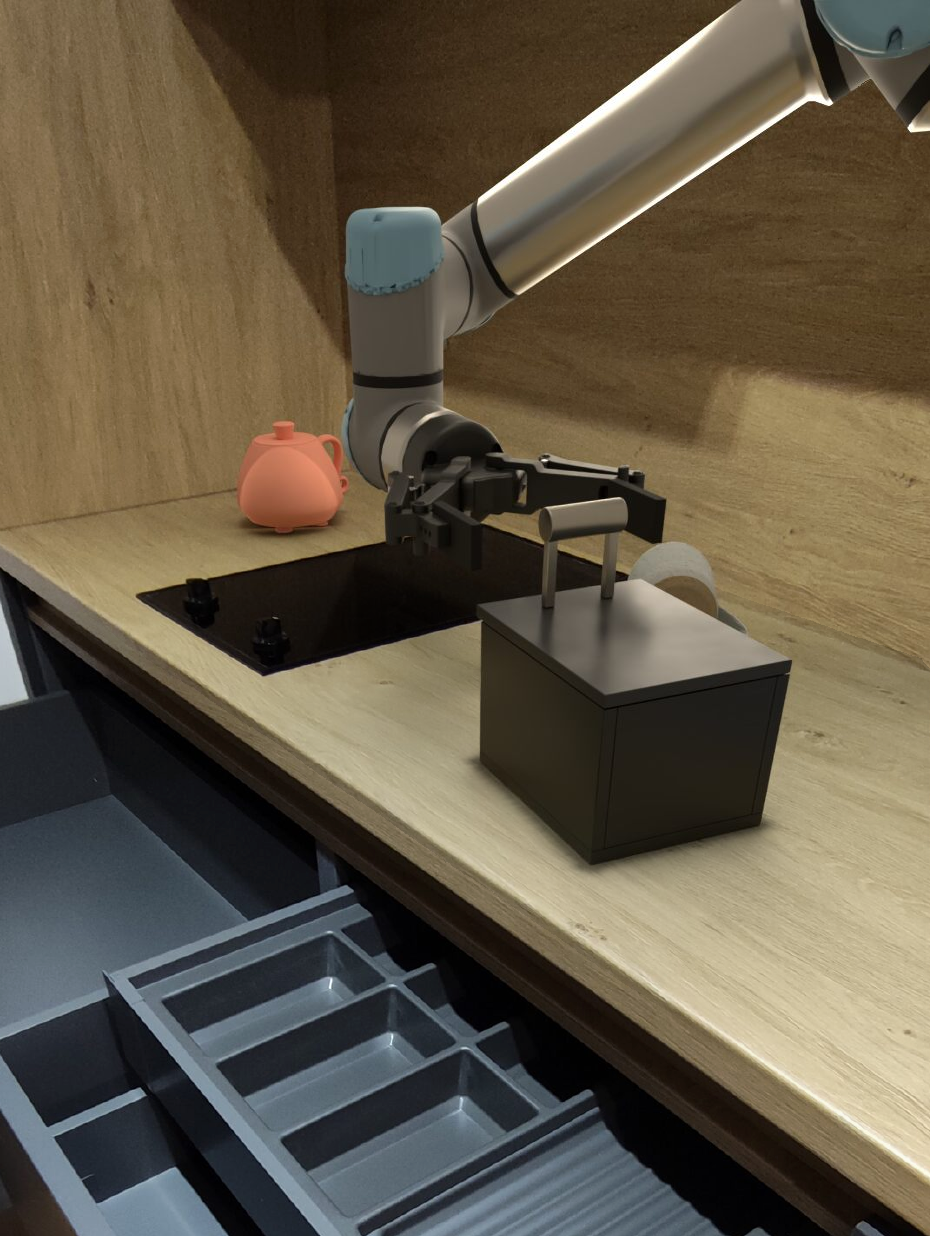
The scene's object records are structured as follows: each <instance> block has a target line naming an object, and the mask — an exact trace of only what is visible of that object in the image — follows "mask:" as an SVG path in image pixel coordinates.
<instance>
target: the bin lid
mask: <svg viewBox="0 0 930 1236" xmlns="http://www.w3.org/2000/svg"><path fill="white" fill-rule="evenodd" d="M627 520H628V511H627V506H626V503H625V501H624V500H623V499H622V498H620V497H619V498H611V499H604V500H596V501H589V502H581V503H574V504H567V505H559V506H552V507H545V508H543V509H540V510H539V514H538V521H537V523H538V524H537V525H538V526H537V527H538V534H539V536H540V538H541V540H542V542H543V561H542V584H541V594H536V595H535V594H534V595H530V596H523V597H517V598H511V599H504V600H499V601H498V600H497V601H492V602H485V603H478V604H476V617H477V618H478V619H480V620H481V621H484V622H485V623H486V624H488V625H489V626H491V627H492V628H493V629H495V630H496V631H498V632H499V633H500V634H502V635H503V636H504V637H506V638H507V639H509V640H510V641H511V642H513V643H514V644H516V645H517V646H518V647H520V648H521V649H522V650H524V651H525V652H527V653H528V654H529V655H531V656H532V657H533V658H535V659H536V660H538V661H539V662H540V663H542V664H543V665H545V666H546V667H547V668H549V669H550V670H551V671H553V672H554V673H556V674H557V675H558V676H560V677H561V678H563V679H564V680H565V681H567V682H568V683H569V684H571V685H572V686H574V687H575V688H576V689H578V690H579V691H581V692H582V693H583V694H585V695H586V696H587V697H589V698H590V699H592V700H593V701H594V702H596V703H597V704H599V705H600V706H601V707H603V708H611V707H616V706H621V705H626V704H631V703H636V702H642V701H647V700H652V699H657V698H662V697H667V696H672V695H678V694H683V693H688V692H693V691H698V690H703V689H708V688H714V687H719V686H724V685H729V684H734V683H739V682H744V681H750V680H755V679H760V678H765V677H770V676H775V675H781V674H786V673H789V674H790V673H791V672H792V671H791V670H792V665H793V659H791V658H790V657H788V656H786V655H784V654H782V653H780V652H778V651H776V650H775V649H773V648H771V647H769V646H767V645H765V644H763V643H762V642H760V641H757V640H756V639H754V638H752V637H750V636H749V637H748V636H747V635H745V634H743V633H741V632H739V631H737V630H735V629H733V628H732V627H730V626H728V625H726V624H724V623H722V622H720V621H719V620H717V619H715V618H713V617H711V616H709V615H707V614H705V613H704V612H702V611H700V610H698V609H696V608H694V607H692V606H690V605H689V604H687V603H685V602H683V601H681V600H679V599H677V598H675V597H674V596H672V595H670V594H668V593H666V592H664V591H662V590H661V589H659V588H657V587H655V586H653V585H651V584H649V583H647V582H646V581H644V580H642V579H636V580H629V581H627V580H624V581H623V580H622V581H617V582H616V572H617V562H618V549H619V539H620V533H621V532H623V531H624V529H625V527H626V524H627ZM603 535H604V541H603V542H604V543H603V554H602V555H603V556H602V567H601V579H600V580H601V581H600V584H599V585H592V586H586V587H579V588H573V589H567V590H561V591H556V587H557V586H556V585H557V566H558V546H559V542H561V541H568V540H575V539H580V538H581V539H582V538H589V537H595V536H603Z"/></svg>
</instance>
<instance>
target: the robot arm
mask: <svg viewBox="0 0 930 1236" xmlns="http://www.w3.org/2000/svg"><path fill="white" fill-rule="evenodd" d="M808 32H809V34H808ZM833 40H834V41H833ZM810 41H811V42H810ZM811 43H812V45H811ZM818 66H819V67H818ZM819 69H820V71H819ZM820 72H821V74H820ZM869 79H871V80H872V81H873V83H874V84H875V86H876V87H877V88H878V90H879V91H880V93H881V94H882V95H883V97H884V98H885V99H886V101H887V102H888V103H889V105H890V106H891V108H892V109H893V110H894V112H895V113H896V115H897V116H898V117H899V119H900V120H901V121H902V122H903V124H904V125H905V127H906V128H907V130H908V131H909V132H910V133H917V132H928V131H929V132H930V0H740V1H738V2H737V3H736V4H735V5H733V6H732V7H731V8H729V9H728V10H727V11H725V12H724V13H723V14H721V15H720V16H719V17H718V18H716V19H715V20H713V21H712V22H711V23H709V24H708V25H707V26H705V27H704V28H703V29H702V30H700V31H698V33H696V34H694V36H692V37H691V38H689V39H688V40H687V41H685V42H684V43H683V44H681V45H680V46H678V48H676V49H675V50H674V51H672V52H671V53H670V54H668V55H667V56H666V57H664V58H663V59H661V60H660V61H659V62H657V63H656V64H655V65H654V66H652V67H651V68H650V69H648V70H647V71H646V72H644V73H643V74H641V75H640V76H639V77H637V78H636V79H635V80H634V81H632V82H631V83H630V84H629V85H627V86H626V87H624V88H623V89H622V90H621V91H620V90H619V92H617V94H615V95H614V96H612V97H611V98H610V99H608V100H607V101H606V102H604V103H603V104H601V106H599V107H598V108H596V109H595V110H594V111H592V112H591V113H590V114H588V115H587V116H586V117H585V118H583V119H582V120H581V121H578V123H576V124H575V125H574V126H573V127H571V128H570V129H568V130H567V131H566V132H565V133H563V134H562V135H560V136H559V137H558V138H556V139H555V140H554V141H552V142H551V143H550V144H549V145H547V146H546V147H545V148H543V149H541V150H540V151H539V152H537V154H535V155H534V156H533V157H531V158H530V159H529V160H527V161H526V162H525V163H524V164H522V165H521V166H519V167H518V168H516V170H514V171H513V172H511V173H510V174H508V175H507V176H506V177H505V178H503V179H502V180H501V181H499V182H498V183H497V184H495V185H494V186H493V187H492V188H490V189H489V190H487V191H486V192H485V193H483V194H482V195H481V196H480V197H478V199H476V200H475V201H474V202H472V203H470V204H469V205H467V206H466V207H464V208H463V209H462V210H460V211H459V212H458V213H456V214H455V215H453V216H452V218H450V219H448V220H447V221H446V222H445V223H443V224H442V221H441V219H440V216H439V214H438V213H437V212H436V211H435V210H434V209H433V208H430V207H424V206H384V207H383V206H382V207H375V208H373V207H372V208H362V209H358V210H355V211H354V212H353V213H351V214H350V216H349V217H348V219H347V221H346V226H345V264H344V278H345V280H346V287H347V305H348V318H349V335H350V349H351V350H350V351H351V364H352V396H353V397H352V398H351V399H350V401H349V403H348V404H347V407H346V409H345V411H344V413H343V417H342V422H341V429H340V430H341V431H340V435H341V436H340V437H341V442H342V443H341V445H342V448H343V453H344V454H345V457H346V459H347V461H348V462H349V464H350V465H351V467H352V468H353V469H354V470H355V471H356V472H357V473H358V474H359V475H360V476H361V477H362V479H363V480H364V481H365V482H366V483H367V484H369V485H370V486H371V487H373V488H376V489H377V490H378V491H381V490H382V491H383V492H385V493H386V494H387V495H386V499H385V500H384V502H383V503H384V504H383V508H384V510H383V511H384V512H383V513H384V533H385V536H384V537H385V544H387V545H388V546H391V547H396V546H398V545H401V544H403V543H404V539H405V538H407V537H408V538H409V537H411V538H412V551H413V552H412V553H413V555H414V556H418V557H425V556H430V555H431V548H433V549H437V550H439V551H440V552H442V553H443V554H445V555H446V556H448V557H450V559H452V560H454V561H455V562H457V563H458V564H460V565H461V566H463V567H464V568H466V569H467V570H469V571H470V572H474V571H482V570H483V523H482V522H484V521H485V520H486V519H487V518H488V517H489V516H490V515H493V516H501V515H502V514H505V513H506V514H507V513H509V514H516V515H524V516H525V515H527V516H532V515H533V514H534V513H536V512H538V511H540V510H542V509H543V508H545V507H552V506H559V505H567V504H574V503H581V502H589V501H596V500H604V499H611V498H619V497H620V498H622V499H623V500H624V501H625V503H626V506H627V511H628V520H627V524H626V527H625V529H624V530H623V531H624V532H627V533H629V534H631V535H633V536H635V537H636V538H639V539H641V540H642V541H645V542H648V543H649V544H651V545H658V544H662V543H663V536H664V528H665V526H664V525H665V517H666V509H667V502H668V501H667V498H665V497H664V496H661V495H659V494H656V493H655V492H651V491H649V490H647V489H645V483H646V482H645V481H646V472H644V471H641V470H639V469H635V470H634V469H630V465H629V464H626V463H623V464H622V465H620V466H619V467H615V466H609V465H603V464H602V465H601V464H597V463H590V462H585V461H578V460H571V459H565V458H562V457H560V456H556V455H553V454H550V453H543V454H540V455H538V458H537V459H528V458H517V457H511V455H509V453H506V452H505V451H504V450H503V447H502V445H501V444H500V441H499V440H498V438H497V437H496V435H495V434H494V433H493V432H492V431H491V430H490V429H489V428H488V427H487V426H485V425H484V424H481V423H480V422H477V421H475V420H473V419H471V418H469V417H466V416H463V415H461V414H460V413H458V412H456V411H454V410H451V409H448V408H446V407H444V341H446V340H449V339H451V338H453V337H454V336H457V335H465V334H468V333H470V332H472V331H475V330H476V329H478V328H479V327H481V326H483V325H484V324H486V323H487V322H488V321H489V320H490V319H492V317H493V316H494V315H495V313H496V312H498V311H499V310H500V309H501V308H504V307H505V306H506V305H508V304H509V303H511V302H512V301H513V300H515V299H516V298H517V297H518V296H520V295H521V294H523V293H525V292H526V291H527V290H529V289H531V288H532V287H533V286H535V285H536V284H538V283H539V282H541V281H542V280H543V279H545V278H547V277H548V276H550V275H551V274H553V273H554V272H555V271H557V270H559V269H560V268H561V267H563V266H564V265H566V264H568V263H569V262H571V261H572V260H573V259H575V258H576V257H578V256H579V255H581V254H583V253H584V252H585V251H587V250H589V249H590V248H591V247H593V246H595V245H596V244H597V243H599V242H601V240H603V239H605V238H607V236H610V235H611V234H612V233H614V232H615V231H616V230H618V229H619V228H621V227H622V226H624V225H626V224H627V223H628V222H630V221H632V220H633V219H634V218H636V217H638V216H639V215H640V214H642V213H643V212H645V211H647V210H648V209H649V208H651V207H652V206H654V205H655V204H657V203H658V202H660V201H661V200H663V199H665V197H667V196H669V195H671V193H673V192H675V191H676V190H678V189H679V188H680V187H682V186H684V185H685V184H686V183H689V182H690V181H691V180H692V179H694V178H696V177H697V176H698V175H700V174H702V173H703V172H704V171H706V170H708V169H709V168H710V167H712V166H714V165H715V164H716V163H718V162H720V161H721V160H722V159H724V158H725V157H726V156H728V155H729V154H731V153H733V152H734V151H736V150H737V149H739V148H740V147H743V145H745V144H747V142H749V141H750V140H752V139H754V138H755V137H757V136H759V134H761V133H762V132H764V131H765V130H767V129H768V128H770V127H771V126H773V125H774V124H776V123H777V122H779V121H780V120H782V119H783V118H785V117H786V116H788V115H789V114H791V113H792V112H793V111H795V110H796V109H798V108H800V107H801V106H802V105H804V104H806V103H807V102H817V103H820V104H823V105H825V106H828V107H829V106H831V105H833V104H835V103H836V102H837V101H839V100H840V99H842V98H843V97H845V96H847V94H850V93H851V92H853V91H854V90H856V89H857V88H859V87H861V86H862V85H863V84H862V83H864V82H865V81H867V80H869ZM869 81H870V80H869ZM867 82H868V81H867ZM865 83H866V82H865ZM865 83H864V84H865ZM861 84H862V85H861ZM858 86H859V87H858ZM826 90H827V91H826ZM827 93H828V94H827ZM828 95H829V96H828ZM504 452H505V453H504ZM524 493H525V502H524V501H523V502H521V501H520V499H521V498H522V496H523V494H524Z"/></svg>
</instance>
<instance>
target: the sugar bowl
mask: <svg viewBox="0 0 930 1236" xmlns="http://www.w3.org/2000/svg"><path fill="white" fill-rule="evenodd" d="M272 429H273V431H274V432H271V433H270V432H269V433H264V434H260V435H257V436H255V437H254V438H253V439H252V441H251V442H250V444H249V446H248V448H247V451H246V454H245V456H244V458H243V461H242V463H241V466H240V468H239V473H238V478H237V485H236V500H237V506H238V508H239V510H240V511H241V512H242V513H243V514H244V515H245V516H246V517H247V519H248V520H249V521H250V522H252V523H254V524H256V525H259V526H264V527H270V528H275V532H276V533H278V534H286V533H292V532H293V528H300V527H307V526H314V527H324V526H328V525H329V522H328V521H329V520H331V519H333V518H334V516H335V515H336V514H337V513H338V510H339V509H340V507H341V505H342V503H343V500H344V495H345V494H346V493H347V492H348V491H349V488H350V483H349V480H348V477H346V476H345V475H344V474H343V475H342V469H343V463H344V462H343V461H344V448H343V444H342V443H341V441H340V440H339V439H338V438H337V437H336V436H334V435H332V434H328V433H327V434H326V433H324V434H321V435H319V436H316V435H314V434H312V433H308V432H301V431H294V430H295V422H293V421H289V420H282V421H276V422H273V423H272ZM326 443H331V444H332V448H333V460H332V458H331V457H330V455H329V454H328V452H327V450H326V448H325V447H324V446H323V444H326Z"/></svg>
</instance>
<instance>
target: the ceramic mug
mask: <svg viewBox="0 0 930 1236" xmlns="http://www.w3.org/2000/svg"><path fill="white" fill-rule="evenodd" d="M636 579H642V580H644V581H646V582H647V583H649V584H651V585H653V586H655V587H657V588H659V589H661V590H662V591H664V592H666V593H668V594H670V595H672V596H674V597H675V598H677V599H679V600H681V601H683V602H685V603H687V604H689V605H690V606H692V607H694V608H696V609H698V610H700V611H702V612H704V613H705V614H707V615H709V616H711V617H713V618H715V619H717V620H719V621H720V622H722V623H724V624H726V625H728V626H730V627H732V628H733V629H735V630H737V631H739V632H741V633H743V634H745V635H747V636H748V637H750V633H749V630H748V629H747V627H746V625H745V624H743V622H742V621H741V620H739V618H737V617H736V616H735V615H734V614H733V613H731V612H730V611H728V610H727V609H725V608H724V607H723V606H721V605H719V600H718V599H719V597H718V594H717V591H716V584H715V577H714V573H713V569H712V567H711V565H710V562H709V561H708V559H707V558H706V556H705V555H704V554H703V552H701V551H700V550H699V549H698V548H696V547H694V546H692V545H691V544H688V543H686V542H681V541H668V542H667V541H666V542H662V543H658V544H655V545H654V546H653V547H650V548H649V549H647V550H646V551H645V552H644V553H642V554H641V556H640V557H639V558H638V559H637V560H636V561H635V563H634V564H633V566H632V568H631V569H630V571H629V574H628V576H627V580H626V581H629V580H636Z"/></svg>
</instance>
